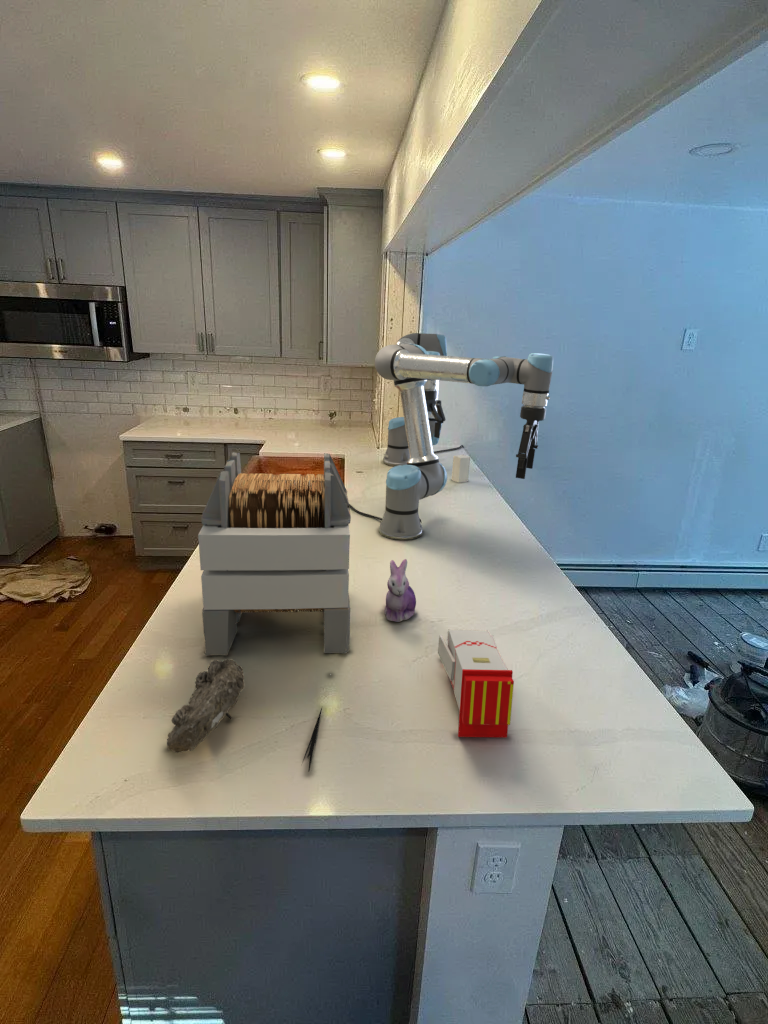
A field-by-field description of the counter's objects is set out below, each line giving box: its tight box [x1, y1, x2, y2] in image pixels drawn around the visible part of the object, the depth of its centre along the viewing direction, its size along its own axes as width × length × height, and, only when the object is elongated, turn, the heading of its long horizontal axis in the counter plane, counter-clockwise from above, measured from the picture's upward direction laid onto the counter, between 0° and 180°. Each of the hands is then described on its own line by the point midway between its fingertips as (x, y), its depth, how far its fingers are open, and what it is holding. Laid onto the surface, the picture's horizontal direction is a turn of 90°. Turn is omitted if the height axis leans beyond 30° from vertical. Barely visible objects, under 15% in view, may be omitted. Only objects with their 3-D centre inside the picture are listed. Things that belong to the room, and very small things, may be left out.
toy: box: [437, 628, 515, 738], centre depth 117 cm, size 12×13×30 cm
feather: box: [301, 673, 332, 771], centre depth 108 cm, size 2×28×2 cm
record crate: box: [197, 451, 352, 657], centre depth 136 cm, size 34×33×41 cm
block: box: [451, 454, 471, 483], centre depth 264 cm, size 6×5×12 cm
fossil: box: [166, 658, 245, 754], centre depth 106 cm, size 22×10×15 cm
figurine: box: [384, 558, 417, 623], centre depth 145 cm, size 9×10×15 cm
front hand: (524, 472), depth 180 cm, fingers open, 13 cm apart
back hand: (425, 439), depth 246 cm, fingers open, 13 cm apart
